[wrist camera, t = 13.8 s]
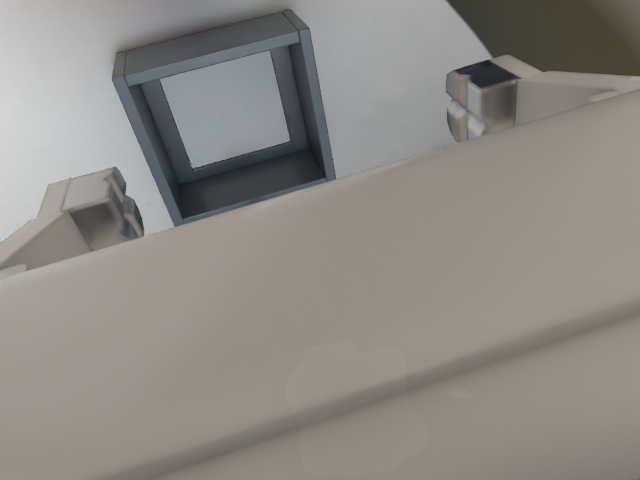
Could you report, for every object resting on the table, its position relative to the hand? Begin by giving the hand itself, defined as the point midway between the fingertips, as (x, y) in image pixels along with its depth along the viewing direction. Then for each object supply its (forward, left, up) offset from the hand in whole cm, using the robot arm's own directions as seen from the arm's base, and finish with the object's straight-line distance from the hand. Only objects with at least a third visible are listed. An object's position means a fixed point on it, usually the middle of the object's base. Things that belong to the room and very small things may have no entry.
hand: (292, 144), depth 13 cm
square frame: (-1, -11, -31) cm, 33 cm away
